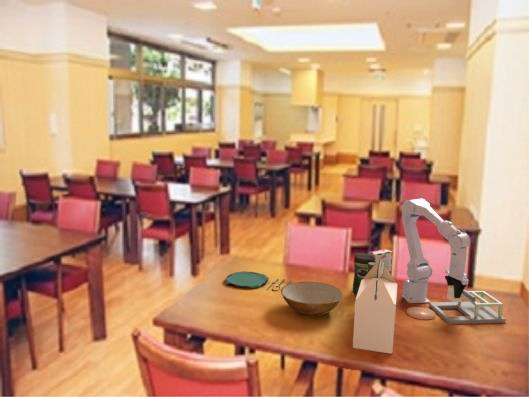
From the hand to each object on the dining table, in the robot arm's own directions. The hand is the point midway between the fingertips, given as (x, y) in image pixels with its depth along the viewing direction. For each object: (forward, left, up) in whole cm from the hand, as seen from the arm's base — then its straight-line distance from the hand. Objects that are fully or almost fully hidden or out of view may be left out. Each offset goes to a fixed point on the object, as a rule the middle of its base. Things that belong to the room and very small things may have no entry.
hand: (454, 295), depth 196 cm
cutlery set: (-76, +40, -9) cm, 86 cm away
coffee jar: (-30, +24, -8) cm, 39 cm away
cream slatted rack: (+11, 0, -6) cm, 13 cm away
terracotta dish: (-13, +1, -8) cm, 15 cm away
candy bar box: (-19, +35, -8) cm, 41 cm away
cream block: (0, 0, -2) cm, 2 cm away
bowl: (-57, +7, -8) cm, 58 cm away
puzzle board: (+6, 0, -8) cm, 10 cm away
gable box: (-39, -18, -8) cm, 44 cm away
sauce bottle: (-33, +6, -8) cm, 35 cm away
